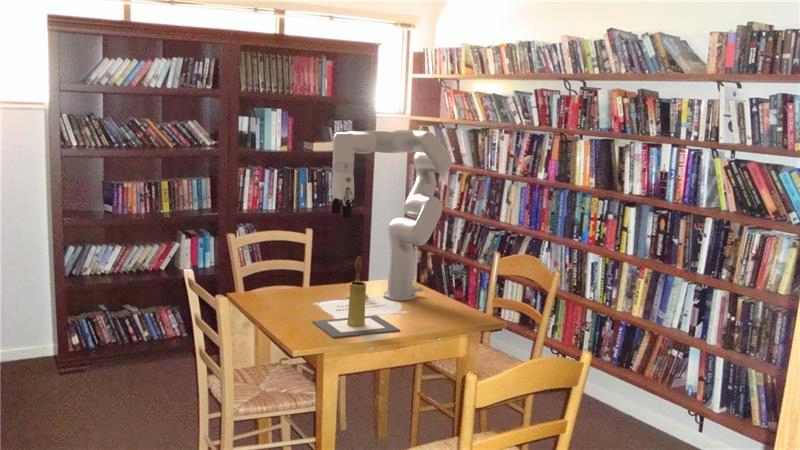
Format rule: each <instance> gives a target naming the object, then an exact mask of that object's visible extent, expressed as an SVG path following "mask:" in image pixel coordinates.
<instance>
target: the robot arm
mask: <svg viewBox="0 0 800 450" xmlns="http://www.w3.org/2000/svg"><path fill="white" fill-rule="evenodd" d="M373 152H375V153H382V154H399V153H400V154H402V153H414V154H413V155H414V156H413V161H412V162H413V165H414V169H415V174H416V180H415V181H414V184H413V187H412V188H411V190H410V192H409V194H408V196H407V198H406V200H405V202H404V205H403V211H404V213H405V214H406V215H407V216H408V217H405V216H398V217H395V218H393V219H392V220H391V221H390V222H389V224H388V229H387V231H388V239H389V258H388V259H389V261H388V280H387V282H388V283H387V291H384V293H383V297H384V298H385V299H387V300H392V301H397V302H399V301H400V302H402V301H403V302H404V301H405V302H406V301H407V302H408V301H412V300H415V299H416V295H417V294H416V293H418V292H419V293H422V292H424V288H423V286H418V285H417V286H416V285H413V282H414V281H413V280H414V278H413V277H414V264H415V262H414V260H415V259H414V258H415V249H414V246H423V245H425V244H426V243H427V242H428V240H430V238H431V236H432V234H433V232H434V230H435V228H436V226H437V224H438V222H439V220H440V218H441V216H442V213H443V206H442V205H443V204H442V202H441V201H440V199H439V198H438V197H436V196H434V194H435V192H436V191H437V190H436V189H437V180H436V179H437V178H436V175H435V173H436V174H437V173H438V174H444V173H447V172H448V171H450V169H451V167H452V163H453V161H452V157H451V154H450V152H449V151H448V149H447V148H446V147H445V146H444V145H443V144H442V142H441V141H440V139H439V138H438V137H437V136H436V135H435V134H434V133H433V132H431V131H429V130H417V129H393V130H392V129H387V130H386V129H385V130H384V129H383V130H381V129H380V130H350V131H345V132H344V131H338V132H335V133H334V135H333V146H332V169H331V171H332V173H333V174H332V182H331V190H330V192H331V214H340V213H341V212H342V213H341V216H342V218H344V219H345V218H346V219H347V218H352V206H353V202H354V200H355V177H354V171H355V169H354V168H355V153H356V154H364V155H366V154H367V155H368V154H370V153H373ZM340 201H342V204H343V206H342V209H341V202H340ZM341 210H342V211H341ZM409 217H410V218H409ZM413 245H414V246H413Z"/></svg>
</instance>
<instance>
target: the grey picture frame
mask: <svg viewBox="0 0 800 450" xmlns="http://www.w3.org/2000/svg"><path fill="white" fill-rule="evenodd" d="M347 322H348V317H343V318H342V317H341V318H334V319H333V318H332V319H331V318H329V319H322V320H312V324H314V325H315V326H316V327H318V328H320V330H322V331H323V332H324V333H325V334H327V335H329V337H331V338H332V339H338V338H340V339H341V338H347V337H348V338H349V337H358V336H368V335H377V334H385V333H386V334H387V333H395V332H396V333H397V332H400V331H401V329H399V328H398V327H396V326H395V325H393V324H391V323H390V322H388V321H386V320H385V319H383V318H382V317H380V316H379V315H376V314H375V315H365V325H364V326H363V327H351V326H348V325H347Z"/></svg>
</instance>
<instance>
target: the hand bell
mask: <svg viewBox="0 0 800 450" xmlns="http://www.w3.org/2000/svg"><path fill="white" fill-rule="evenodd" d="M354 267H355V269H354V270H355V281H354V282H356V281H359V282H361V272H362V267H363V262H362V258H361V256H357V257H356V260H355V264H354ZM349 296H350V291H349V292H348V293H347V294H346V298H347V299H349ZM368 298H369V297H368V294H367V293H366V294H365V300H366V299H368Z"/></svg>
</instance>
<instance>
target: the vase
mask: <svg viewBox="0 0 800 450" xmlns="http://www.w3.org/2000/svg"><path fill="white" fill-rule="evenodd" d="M355 281H356V280H355ZM355 281H351V282H350V283H349V292H350V296H349V298H348V300H349V301H348V311H347V312H348V314H347V318H348V322H347V325H348V326H351V327H363V326H364V325H365V316H366V299H365V294H366V295H367V293H366V292H367V291H366V290H367V283H366V282H364V281H360V282H359V281H356V282H355Z"/></svg>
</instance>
